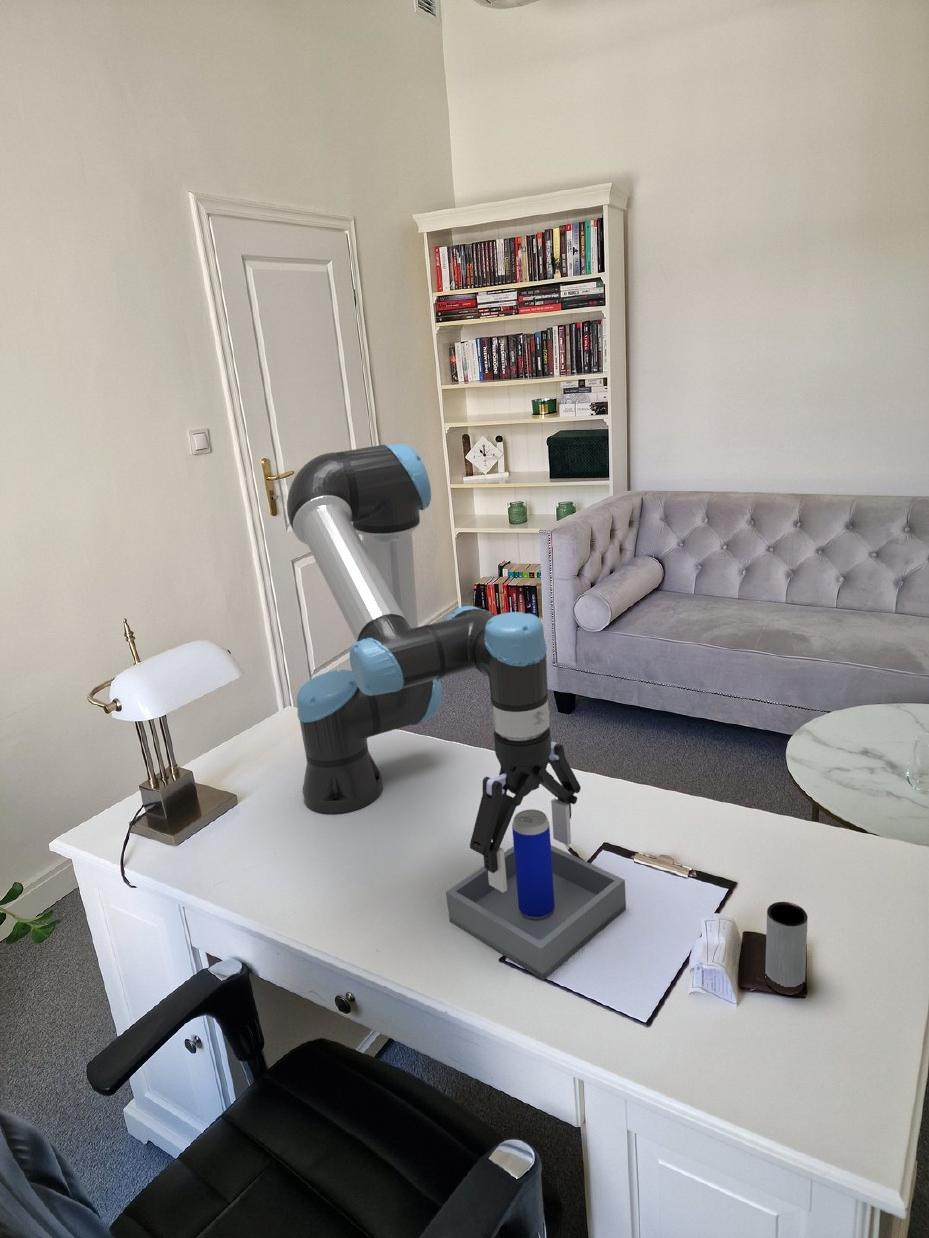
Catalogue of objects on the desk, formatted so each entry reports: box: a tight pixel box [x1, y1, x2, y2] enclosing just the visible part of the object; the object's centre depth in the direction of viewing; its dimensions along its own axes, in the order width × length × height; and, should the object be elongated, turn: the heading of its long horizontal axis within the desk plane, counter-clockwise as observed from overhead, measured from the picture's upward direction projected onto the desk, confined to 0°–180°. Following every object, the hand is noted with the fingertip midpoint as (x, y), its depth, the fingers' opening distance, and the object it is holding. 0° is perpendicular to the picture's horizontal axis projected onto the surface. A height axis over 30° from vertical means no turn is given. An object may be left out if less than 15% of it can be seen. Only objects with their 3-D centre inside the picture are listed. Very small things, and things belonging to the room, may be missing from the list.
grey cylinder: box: [765, 901, 809, 987], centre depth 98 cm, size 4×4×10 cm
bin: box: [445, 844, 627, 981], centre depth 115 cm, size 18×18×5 cm
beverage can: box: [511, 808, 555, 919], centre depth 114 cm, size 5×5×15 cm
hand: (531, 863), depth 114 cm, fingers open, 13 cm apart
